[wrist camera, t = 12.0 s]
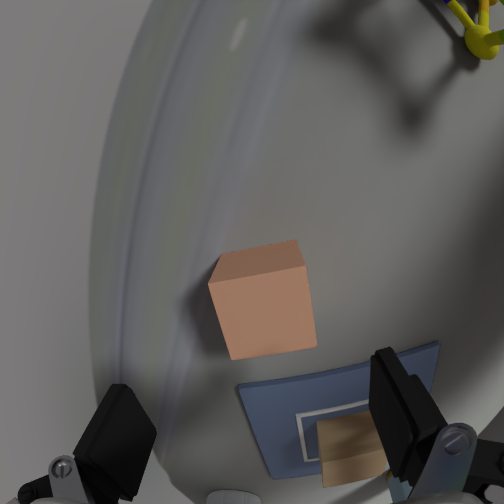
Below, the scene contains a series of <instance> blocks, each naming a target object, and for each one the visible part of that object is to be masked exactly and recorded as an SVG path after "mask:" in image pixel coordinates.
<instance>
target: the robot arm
mask: <svg viewBox="0 0 504 504" xmlns="http://www.w3.org/2000/svg"><path fill="white" fill-rule="evenodd" d="M368 405H369V411H370V413H371V416H372V419H373V421H374V424H375V427H376V429H377V432H378V435H379V438H380V440H381V443H382V446H383V449H384V452H385V454H386V457H387V460H388V463H389V466H390V469H391V472H392V475H393V477H394V478H397V477H399V480H400V483H402V482H404V481H407V480H408V483H409V486H411V487H412V489H411V491H410V493H409V495H408V497H407V499H406V500H402V501H399V502H395V503H392V504H492V503H495V504H504V443H500V442H493V441H488V440H482V439H477V434H476V432H475V430H474V429H473V428H472V427H471V426H469V425H468V424H464V423H453V424H449V425H448V424H447V422H446V421H445V419H444V417H443V415H442V414H441V412H440V410H439V409H438V407H437V405H436V404H435V402H434V400H433V399H432V397H431V396H430V394H429V392H428V391H427V389H426V388H425V386H424V384H423V383H422V381H421V380H420V378H419V377H418V376H417V375H416V374H413V375H410V376H409V375H408V373H407V371H406V370H405V368H404V367H403V365H402V363H401V362H400V360H399V359H398V357H397V355H396V354H395V352H394V351H393V349H392V348H391V347H387V348H384V349H380V350H377V351H376V352H375V355H373V356H371V364H370V387H369V402H368ZM156 435H157V432H156V428H155V427H154V425H153V423H152V422H151V420H150V419H149V417H148V416H147V414H146V413H145V411H144V409H143V408H142V406H141V404H140V403H139V401H138V399H137V398H136V396H135V394H134V393H133V391H132V389H131V388H129V387H128V386H127V385H126V384H112V385H111V386H110V388H109V390H108V391H107V393H106V395H105V397H104V398H103V400H102V402H101V403H100V405H99V407H98V409H97V410H96V412H95V414H94V416H93V417H92V419H91V421H90V422H89V424H88V426H87V428H86V430H85V432H84V433H83V435H82V437H81V439H80V440H79V442H78V444H77V446H76V448H75V450H74V452H73V455H75V458H74V459H73V458H72V457H70V456H66V455H63V456H59V457H57V458H55V459H54V460H53V461H52V462H51V464H50V465H49V469H48V472H49V474H48V475H46V476H44V477H41V478H39V479H36V480H34V481H31V482H29V483H26V484H24V485H23V486H22V487H21V488H20V489H19V491H18V499H17V498H16V497H15V498H13V499H12V500H11V501H9V502H8V503H7V504H119V503H118V500H119V498H120V499H121V500H126V501H131V502H132V500H133V497H134V496H136V495H137V493H138V490H139V487H140V483H141V480H142V477H143V474H144V471H145V468H146V465H147V462H148V459H149V456H150V453H151V450H152V447H153V444H154V441H155V438H156Z"/></svg>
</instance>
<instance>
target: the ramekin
mask: <svg viewBox="0 0 504 504" xmlns="http://www.w3.org/2000/svg"><path fill="white" fill-rule="evenodd" d="M206 504H261V500H260V498H259V497H258V496H256V495H254V494H252V493H249V492H245V491H238V490H218V491H214V492H211V493H210V494H209V495H208V497H207V500H206Z"/></svg>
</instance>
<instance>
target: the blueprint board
mask: <svg viewBox="0 0 504 504" xmlns="http://www.w3.org/2000/svg"><path fill="white" fill-rule="evenodd" d="M439 350H440V343H439V342H438V341H436V342H433V343H430V344H427V345H424V346H421V347H418V348H415V349H412V350H408V351H405V352H402V353H398V354H396V355H397V357H398V359H399V360H400V362H401V363H402V365H403V367H404V368H405V370H406V371H407V373H408V375H409V376H410V375H413V374H416V375H417V376H418V377H419V378H420V380H421V381H422V383H423V384H424V386H425V388H426V389H427V391H428V392H429V394H430V391H431V387H432V383H433V378H434V374H435V370H436V365H437V360H438V355H439ZM370 364H371V361H369V362H365V363H361V364H357V365H352V366H348V367H343V368H339V369H334V370H329V371H324V372H319V373H314V374H308V375H303V376H297V377H290V378H284V379H277V380H270V381H262V382H254V383H245V384H239V386H238V390H239V393H240V396H241V398H242V401H243V404H244V407H245V410H246V412H247V415H248V418H249V421H250V423H251V426H252V429H253V431H254V434H255V437H256V439H257V442H258V445H259V447H260V450H261V452H262V455H263V457H264V460H265V462H266V465H267V467H268V470H269V472H270V475H271V477H272V480H273V479H284V478H293V477H301V476H308V475H315V474H321V466H320V458H319V450H318V435H317V422H316V421H319V420H325V419H330V418H336V417H341V416H345V415H350V414H354V413H359V412H363V411H367V410H369V405H368V402H369V387H370Z"/></svg>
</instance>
